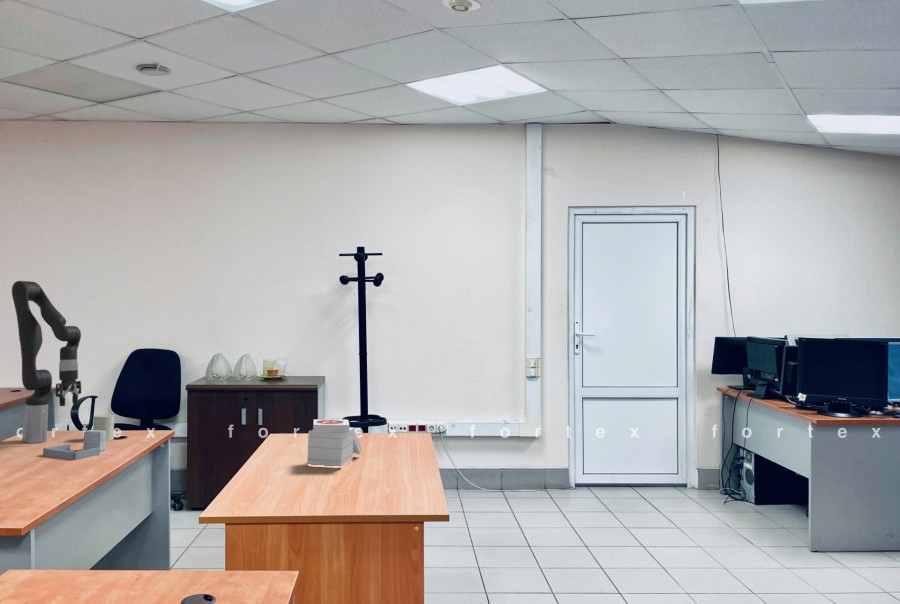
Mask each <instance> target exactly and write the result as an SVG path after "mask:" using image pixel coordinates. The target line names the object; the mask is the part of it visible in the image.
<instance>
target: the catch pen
mask: <svg viewBox="0 0 900 604" xmlns="http://www.w3.org/2000/svg"><path fill="white" fill-rule="evenodd" d="M42 449H43V450H42V456H45V457H52V458H58V459H66V460H71V461H72V460H73V461H76V460H81V459H85V458H91V457H95V456H100V452H101V451H100V448H98V447H97V448H92V449H87V450H83V449H82V450H78V451H71V444H70V443H66V444H65V443H64V444H60V445H55V446H54V445H53V446H49V447H44V448H42ZM99 451H100V452H99Z"/></svg>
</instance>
